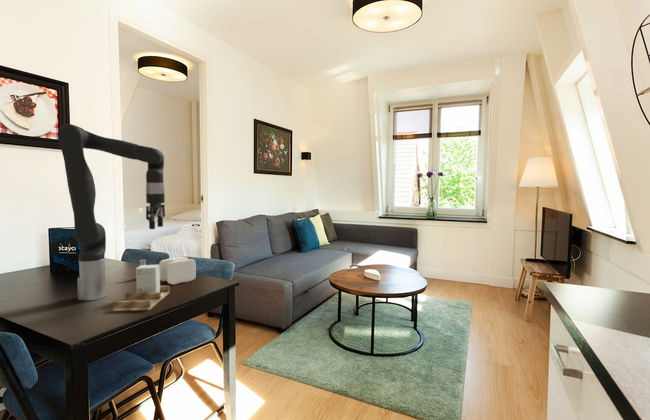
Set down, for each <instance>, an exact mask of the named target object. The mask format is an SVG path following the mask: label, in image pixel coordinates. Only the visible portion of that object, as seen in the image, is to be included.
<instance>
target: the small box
mask: <svg viewBox="0 0 650 420" xmlns="http://www.w3.org/2000/svg"><path fill="white" fill-rule="evenodd" d="M135 285H136V286H135V288H136V289H135V290H136V292H137V293H155V292H160V286H161V280H160V271H159V264H146V265H140V264H139V266H138V267H136V268H135Z"/></svg>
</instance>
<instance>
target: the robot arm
mask: <svg viewBox="0 0 650 420" xmlns="http://www.w3.org/2000/svg"><path fill="white" fill-rule="evenodd" d="M57 140H58V143H59V146H60V150H61V153H62V156H63V161H64V168H65V175H66V183H67V188H68V193H69V197H70V203H71V207H72V212H73V219H74V236H75V239H76V241H77V242H78V243H79V244H81V248H80V249H81V250H80V252H79V254H78V267H79V271H78V272H79V276H78V278H77V299H78V300H79V301H96V300H100V299H103V298H105V297H106V296H107V295H106V294H107V293H106V292H107V289H106V264H105V263H106V261H105V254H106V249H107V245H106V244H107V243H106V242H107V239H106V238H107V237H106V230H105V227H104V226H103V225H102V224H100V223H98V222H96V216H95V204H96V197H97V196H96V194H97V193H96V184H95V180H94V176H93V173H92V171H91V169H90V166H88V163H87V160H86V158H85V152H84V149H89V150H97V151H100V152H105V153H109V154H111V155H114V156H117V157H122V158H125V159H130V160H136V161H141V162H143V163H147V170H146V174H145V180H146V181H145V183H146V184H145V196H146V197H145V200H146V201H145V202H146V204H149V205H147V206H146V207H145V219H146V221H148V223H149V224H148V225H149V226H148V227H149V228H148V229H149V230H155V229H156V224H157V227H158V228H162V227H164V224H163V223H164V218H165V217H166V210H165V208H166V207H165V204H164V203H165V202H166V201H165V200H166V199H165V183H164V168H165V167H164V166H165V165H164V164H165V156H164V154H163V152H162V150H161V151H160V150H159V149H157V148H153V147H150V146H146V145H145V146H144V145H139V144H137V143H133V142H129V141H125V140H120V139H116V138H110V137H106V136H101V135H98V134H96V133H92V132H89V131H88V130H86V129H84V128H82V127H80V126H77V125H76V124H71V123H65V124H62V125H61V126H60V127H58V130H57ZM156 218H157V219H156ZM156 220H157V223H156Z"/></svg>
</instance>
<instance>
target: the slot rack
mask: <svg viewBox="0 0 650 420" xmlns="http://www.w3.org/2000/svg"><path fill="white" fill-rule="evenodd" d="M170 290H171V289H170V285H160V292H155V293H137V291H136V292H126V293H125V299H124V300H114V301H112V311H113V312H115V311H116V312H118V311H120V312H121V311H123V312H124V311H150V310H152V308H154V307H155V306H156V305H157V304H158V303H159V302H161V301H162V300H163V299H164V298H166V297H167V296H168V295H169V294H170V293H171V292H170Z"/></svg>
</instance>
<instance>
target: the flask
mask: <svg viewBox="0 0 650 420" xmlns="http://www.w3.org/2000/svg"><path fill="white" fill-rule="evenodd" d="M146 262H147V260H146V259H140V260H139V266H140V265H147V264H146Z"/></svg>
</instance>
